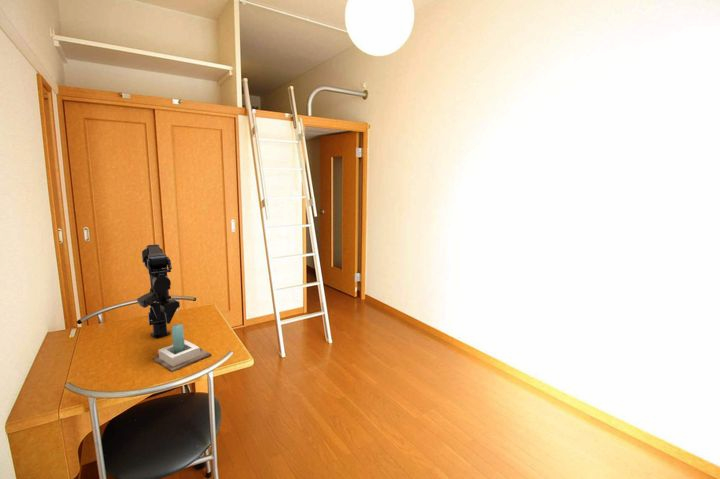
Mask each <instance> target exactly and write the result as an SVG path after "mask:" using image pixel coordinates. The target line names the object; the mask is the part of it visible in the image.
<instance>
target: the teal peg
mask: <svg viewBox="0 0 720 479" xmlns="http://www.w3.org/2000/svg"><path fill="white" fill-rule="evenodd" d="M171 333H172V334H171V336H172V345H173V349H174V354H177V353H180V352H183V351H185V346H184V341H185V335H184V333H185V331H184V325H183V324H182V323H181V324H180V323H179V324H178V323H177V324H174V325H172V326H171Z"/></svg>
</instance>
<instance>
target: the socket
mask: <svg viewBox="0 0 720 479" xmlns="http://www.w3.org/2000/svg"><path fill="white" fill-rule="evenodd" d="M184 346H185V351H183V352H180V353H177V354H174V349H173V344H171V345H168V346H165V347H163V348H160V349H158V350H157V351H158V355H159V358H160V359H162V360H163V361H165V362H166V363H168V364H169V365H171V366H175V365H178V364H180V363H183V362H185V361H188V360H190V359H193V358H195V357H198V356H200V348H201V347H199V346H197V345H196V344H194V343H192V342H190V341H188V340H186V339H184Z"/></svg>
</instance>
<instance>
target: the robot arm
mask: <svg viewBox="0 0 720 479" xmlns="http://www.w3.org/2000/svg"><path fill="white" fill-rule="evenodd" d="M141 261H142V263H143V264H144V267H145V268H146V270H147V271H148V275H149V282H150V289H149V292H146V293H145V294H143V295H141V296H140V297H138V298H137V299H136V301H137V303H138V304H139V307H141V308H144V309H145V308H146V309H147V307H149V306H150V307H149V309H148V310H149V311H148V313H147V318H148V319H147V320H148V325H149V326H152V332H151V333H149V334H150V335H149V336H151V337H153V338H155V339H159V338H163V337H165V336H168V335H172V334H171V333H172V332H171V331H168V327H167V325H169V324H171V322H172V320H173V317H174V316H175V313H176V311H177V310H179V308H180V307H181V304H180V301H178V300H176V299H172V296H171V295H170V294H169V290H171V285H172V282H171V280H170V278H169V276H168V273H171V272H172V271H171V270H172V268H173V267H172V261H171V259H170V257H169V256H167V254H166V253H164V250H163V248H161V247H160V245H159V244H157V243H156V244H148V245H146V246H145V248H144V249H143V250H142V251H141Z"/></svg>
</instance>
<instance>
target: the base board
mask: <svg viewBox="0 0 720 479" xmlns="http://www.w3.org/2000/svg"><path fill="white" fill-rule="evenodd" d="M210 357H212V353H210V352H208V351H206V350H205V349H203V348H201V347H200V356H198V357H195V358H193V359H190V360H188V361H185V362H183V363H180V364H178V365H175V366H171V365H169V364H168V363H166V362H165V361H163V360H162V359H160V358H159V354H158V355H155V356H153V357H151V358H152V360H153V361H154V362H156V363H157V364H159V365H160V366H162V367H163V368H165V369H167V370H168V371H169V372H171V373H173V372H176V371H179V370H182V369H183V368H186V367H189V366H190V365H194V364H195V363H198V362H201V361H202V360H205V359H207V358H210Z"/></svg>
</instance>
